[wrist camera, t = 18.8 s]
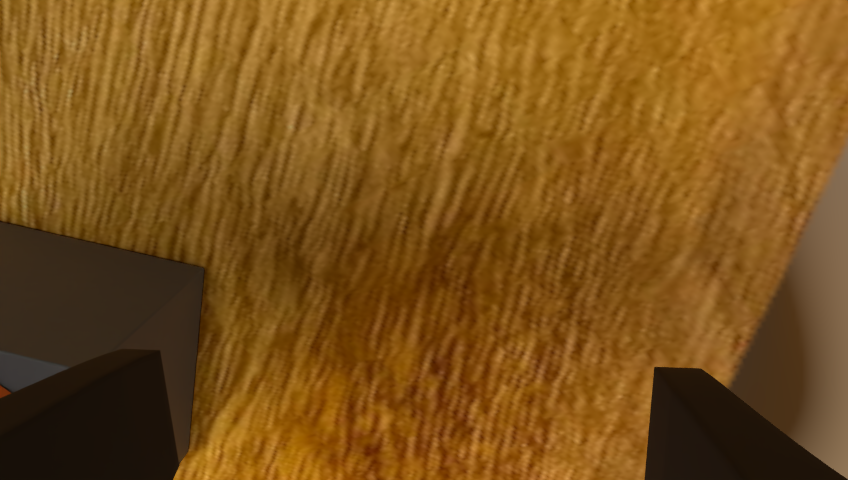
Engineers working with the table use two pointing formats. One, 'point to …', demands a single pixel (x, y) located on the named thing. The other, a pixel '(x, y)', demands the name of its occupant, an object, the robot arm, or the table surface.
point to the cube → (95, 312)
